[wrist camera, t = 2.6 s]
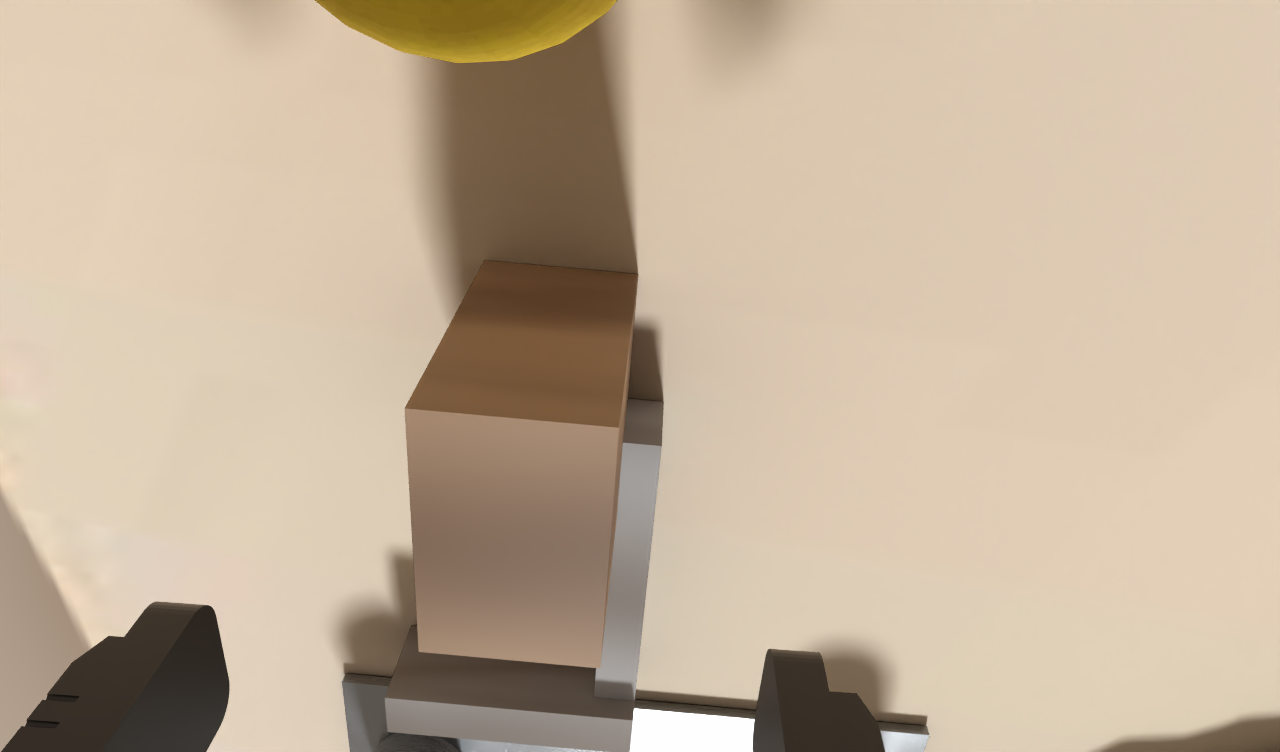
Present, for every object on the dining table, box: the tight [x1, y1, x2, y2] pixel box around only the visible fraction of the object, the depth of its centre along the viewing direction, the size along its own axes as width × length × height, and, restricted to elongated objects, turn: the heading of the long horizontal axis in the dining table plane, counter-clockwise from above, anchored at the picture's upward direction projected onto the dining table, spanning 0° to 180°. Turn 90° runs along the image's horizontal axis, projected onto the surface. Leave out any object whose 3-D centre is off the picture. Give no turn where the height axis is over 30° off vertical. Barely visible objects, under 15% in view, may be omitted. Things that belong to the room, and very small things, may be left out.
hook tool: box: [385, 260, 664, 752], centre depth 19 cm, size 12×6×6 cm, turn 176°
